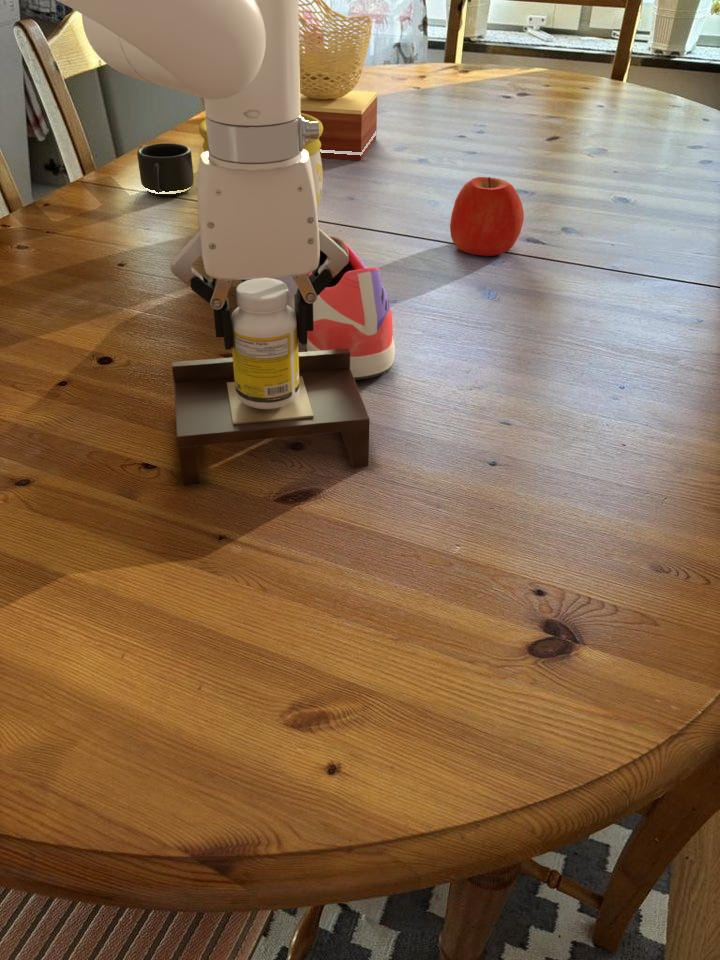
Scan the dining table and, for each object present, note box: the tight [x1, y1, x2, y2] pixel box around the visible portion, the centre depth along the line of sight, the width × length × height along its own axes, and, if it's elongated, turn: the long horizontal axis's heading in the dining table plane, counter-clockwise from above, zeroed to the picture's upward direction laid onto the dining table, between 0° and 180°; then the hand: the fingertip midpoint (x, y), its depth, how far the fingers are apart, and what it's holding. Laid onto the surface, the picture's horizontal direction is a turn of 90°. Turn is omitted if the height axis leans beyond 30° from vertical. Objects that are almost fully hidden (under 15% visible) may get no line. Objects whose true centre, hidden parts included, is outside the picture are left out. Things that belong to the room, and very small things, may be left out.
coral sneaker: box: [240, 235, 396, 381], centre depth 106 cm, size 12×36×13 cm, turn 24°
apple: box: [449, 176, 525, 257], centre depth 128 cm, size 11×11×11 cm
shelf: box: [171, 348, 371, 486], centre depth 85 cm, size 18×11×7 cm, turn 101°
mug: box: [136, 142, 195, 198], centre depth 147 cm, size 12×9×7 cm
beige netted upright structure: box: [298, 0, 378, 162], centre depth 166 cm, size 25×18×35 cm
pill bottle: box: [230, 278, 299, 409], centre depth 80 cm, size 6×6×11 cm
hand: (264, 338), depth 80 cm, fingers closed on pill bottle, 6 cm apart
